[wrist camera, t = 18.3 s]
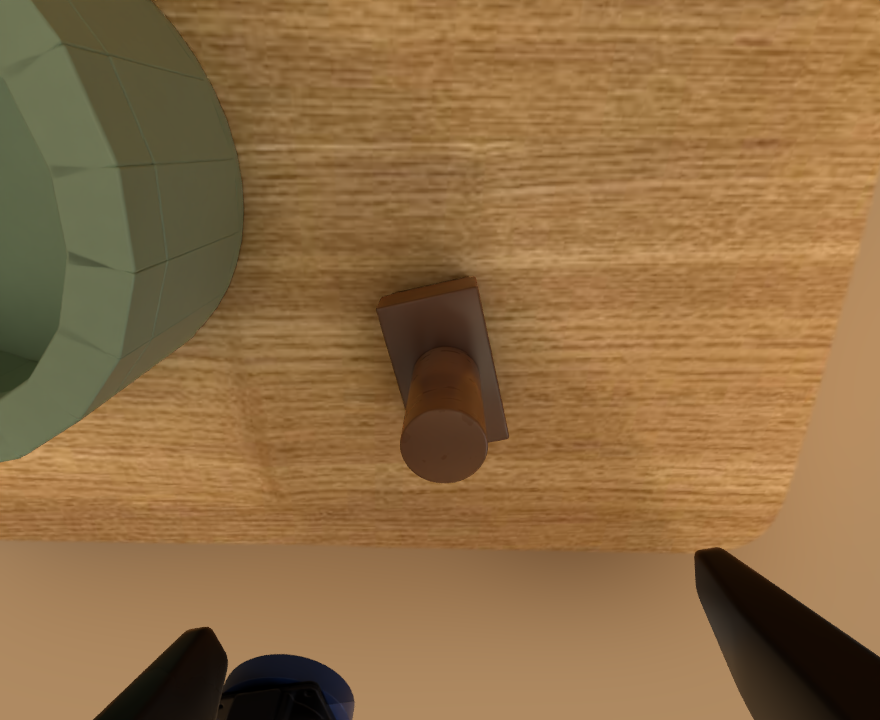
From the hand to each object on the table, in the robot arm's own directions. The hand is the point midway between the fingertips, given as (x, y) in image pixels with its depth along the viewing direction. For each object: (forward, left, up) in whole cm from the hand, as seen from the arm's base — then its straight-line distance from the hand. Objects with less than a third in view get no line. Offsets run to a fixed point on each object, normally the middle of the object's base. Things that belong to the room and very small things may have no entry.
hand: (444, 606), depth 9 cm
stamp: (0, 0, -12) cm, 12 cm away
